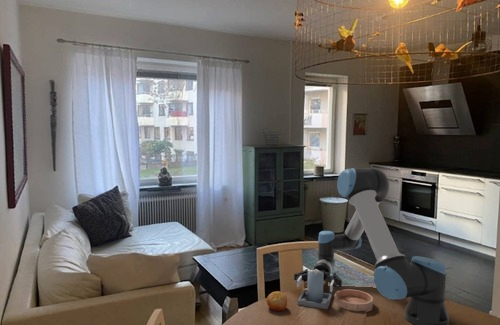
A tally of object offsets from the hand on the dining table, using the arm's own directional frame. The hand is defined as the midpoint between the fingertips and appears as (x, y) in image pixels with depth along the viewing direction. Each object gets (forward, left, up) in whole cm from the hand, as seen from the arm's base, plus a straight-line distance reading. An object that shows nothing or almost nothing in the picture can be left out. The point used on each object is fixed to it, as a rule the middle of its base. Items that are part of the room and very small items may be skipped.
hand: (314, 286), depth 156 cm
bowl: (-15, -6, -8) cm, 18 cm away
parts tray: (0, -2, -8) cm, 8 cm away
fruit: (+13, +10, -8) cm, 18 cm away
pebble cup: (0, -2, -7) cm, 7 cm away
